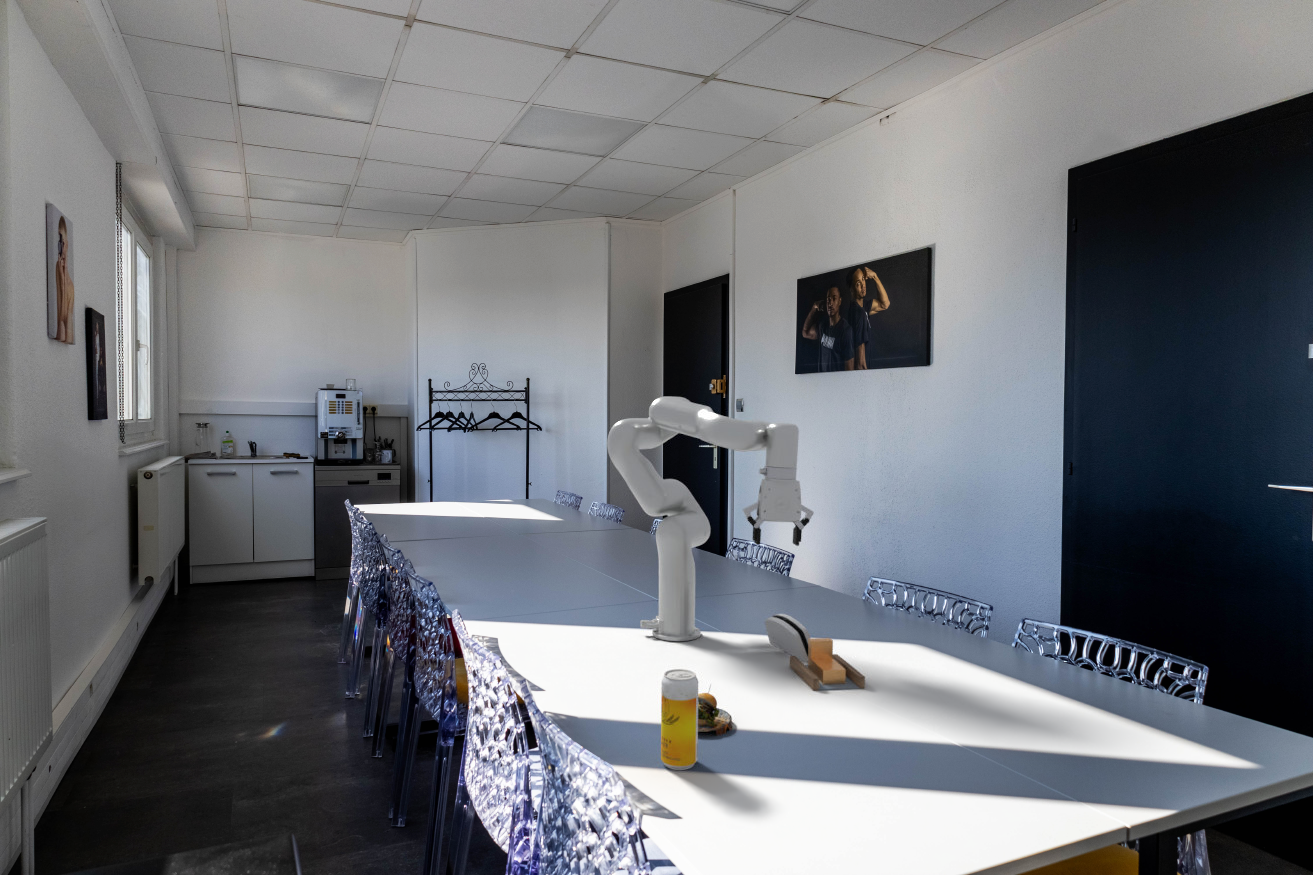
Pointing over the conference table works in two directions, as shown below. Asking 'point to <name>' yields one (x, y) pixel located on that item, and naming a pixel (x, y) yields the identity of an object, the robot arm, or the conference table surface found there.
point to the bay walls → (814, 680)
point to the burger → (712, 715)
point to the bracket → (824, 661)
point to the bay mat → (838, 685)
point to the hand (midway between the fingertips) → (776, 544)
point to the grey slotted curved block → (788, 635)
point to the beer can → (679, 719)
